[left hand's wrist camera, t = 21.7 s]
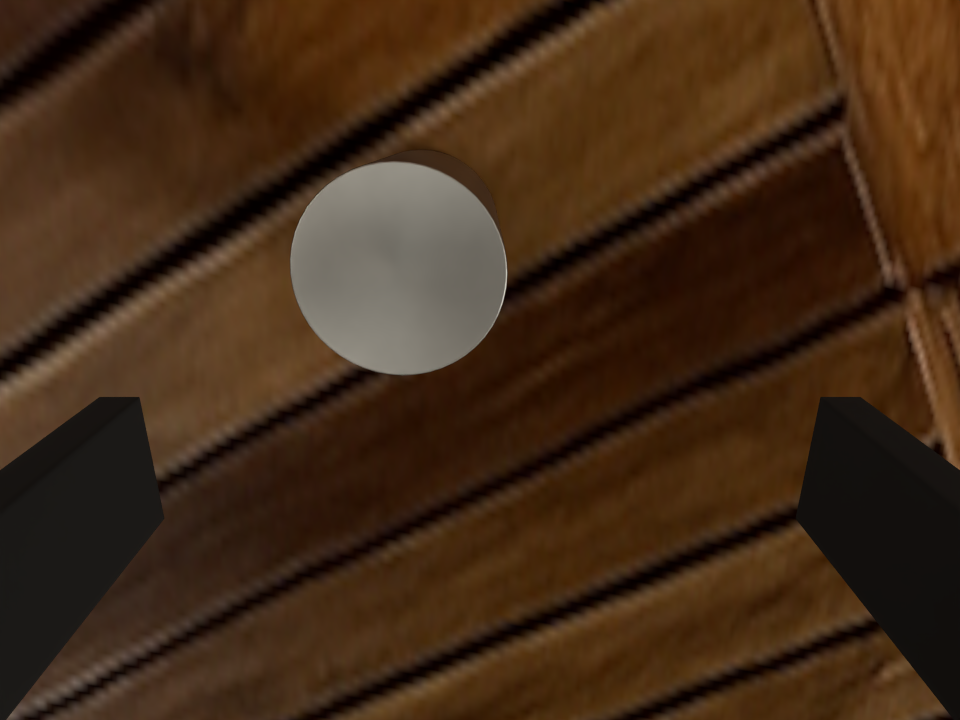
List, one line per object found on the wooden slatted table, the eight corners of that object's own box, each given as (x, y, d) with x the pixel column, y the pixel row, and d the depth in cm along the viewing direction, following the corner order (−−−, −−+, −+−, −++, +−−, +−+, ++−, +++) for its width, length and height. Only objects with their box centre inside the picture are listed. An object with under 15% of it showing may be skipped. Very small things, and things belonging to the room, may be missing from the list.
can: (487, 309, 28) (491, 387, 20) (343, 290, 28) (285, 362, 19) (508, 161, 26) (523, 177, 17) (353, 139, 26) (293, 145, 17)
